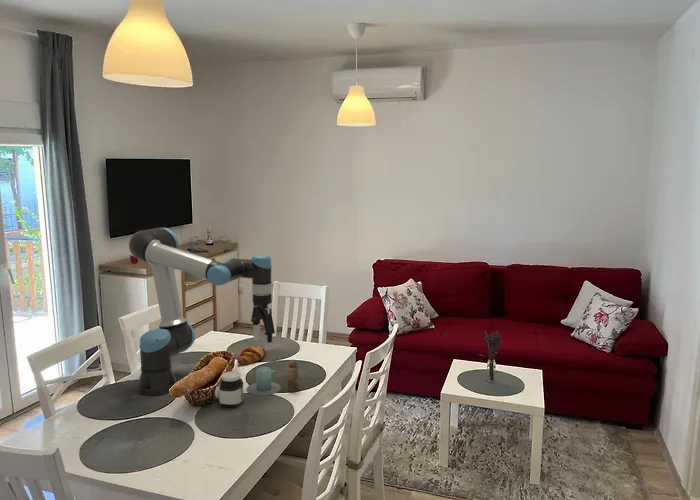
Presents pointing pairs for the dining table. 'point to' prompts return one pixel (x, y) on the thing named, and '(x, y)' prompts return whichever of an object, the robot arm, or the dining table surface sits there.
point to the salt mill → (292, 376)
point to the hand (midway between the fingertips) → (262, 344)
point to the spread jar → (230, 389)
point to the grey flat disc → (254, 391)
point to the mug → (264, 378)
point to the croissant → (251, 355)
